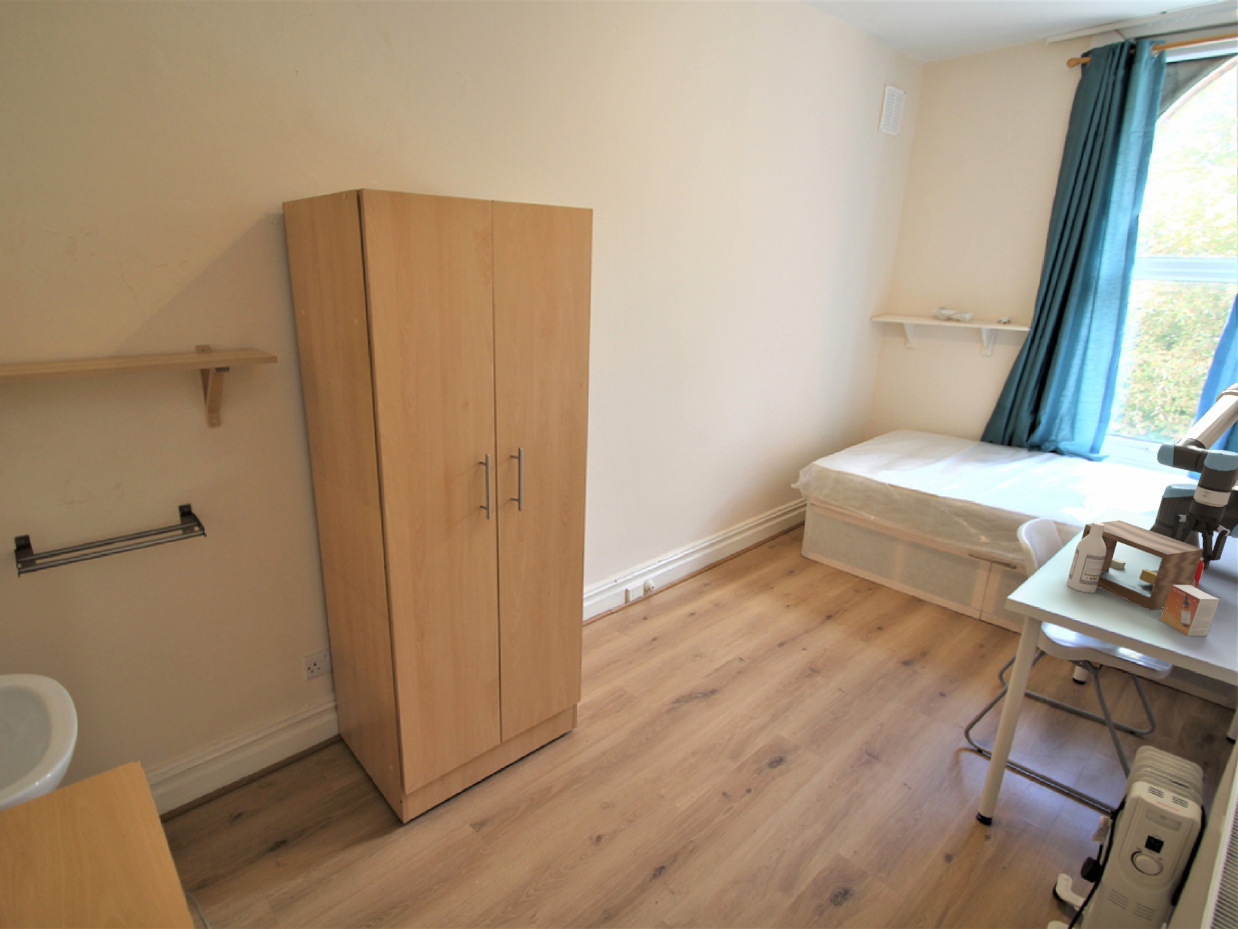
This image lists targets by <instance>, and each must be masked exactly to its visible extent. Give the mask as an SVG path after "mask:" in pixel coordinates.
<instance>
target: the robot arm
mask: <svg viewBox="0 0 1238 929" xmlns="http://www.w3.org/2000/svg"><path fill="white" fill-rule="evenodd" d="M1237 421H1238V382H1235V383H1233V384H1231V385H1229V386H1228V387H1226V388H1225V389H1223V390H1222V391H1221V392H1220V393H1219V394H1218V395H1217V397H1216V398H1215V403H1214V404H1213V405H1212V406H1211V408H1209V409H1208V411H1206V413H1205V414H1203V416H1202V417H1201V418H1200V419H1199V420H1198V421H1197V422H1196V423H1195V424H1194V425H1193V426H1192V427H1191V428H1190V429H1189V430H1188V431H1187V432H1186V433H1185V434H1184V435H1183V436H1182V437H1181V439H1179V440H1178V441H1177V442H1174V441H1172V442H1171V441H1166V442H1165V441H1164V442H1163V443H1162V444H1161V445H1160V447H1159V449H1158V451H1157V453H1156V454H1157V455H1156V460H1157V462H1158V463H1159V464H1160V465H1164V466H1167V467H1171V468H1174V469H1179V470H1183V471H1184V470H1185V471H1189V472H1194V473H1198V474H1199V479H1198V482H1197V484H1194V483H1193V484H1192V483H1171V484H1169V485H1166V487H1165V489H1164V492H1163V495H1162V496H1161V500H1160V503H1159V507H1158V511H1157V515H1156V517H1155V520H1154V523H1153V525H1152V526H1151V528H1150V529H1149V531H1152V532H1155V533H1158V534H1161V535H1164V536H1167V537H1169V538H1172V539H1175V540H1178V541H1181V542H1184V543H1187V544H1190V545H1193V546H1196V547H1199V548H1201V545H1200V544H1201V543H1200V534H1201V537H1202V549H1203V555H1202V557H1203V562H1204V568H1203V572H1204V571H1207V570H1208V569H1209V566H1210V563H1211V562H1214V561H1220V560H1221V558H1222V554H1223V551H1224V548H1225V545H1226V542H1227V539H1228V537H1231V538H1234V539H1238V452H1234V451H1229V450H1224V449H1211V448H1212V447H1213V446H1214V444H1216V443H1217V442H1218V440H1219V439H1220V438H1222V437H1223V436H1224V435H1225V433H1226V432H1227V431H1228V430H1229V429H1230V428H1232V426H1234V424H1235V423H1236V422H1237ZM1214 532H1215V533H1217V536H1216V538H1215V541H1214V545H1213V538H1214V535H1215V534H1214ZM1203 572H1202V575H1201V578H1200V579H1202V577H1203Z"/></svg>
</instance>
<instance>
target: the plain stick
mask: <svg viewBox="0 0 1238 929" xmlns="http://www.w3.org/2000/svg"><path fill="white" fill-rule="evenodd" d="M1126 565H1127V563H1126V561H1123V560H1120V559H1117V558H1115V557H1113V558H1112V562H1111V565H1110V567H1112V568H1115V569H1117V570H1124V569H1125V567H1126Z"/></svg>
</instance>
